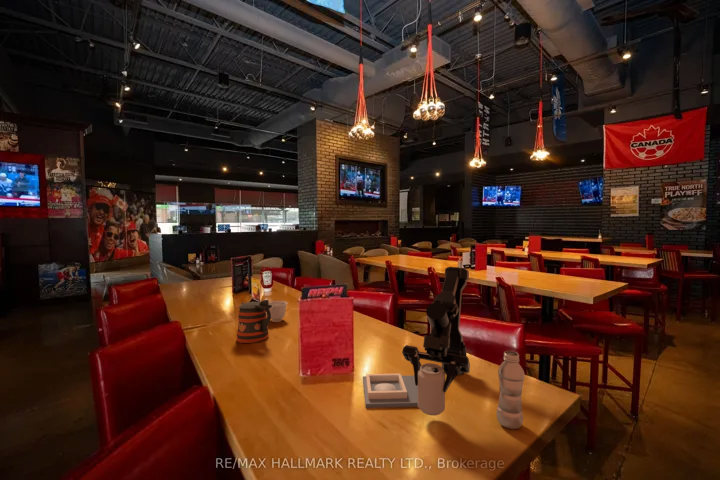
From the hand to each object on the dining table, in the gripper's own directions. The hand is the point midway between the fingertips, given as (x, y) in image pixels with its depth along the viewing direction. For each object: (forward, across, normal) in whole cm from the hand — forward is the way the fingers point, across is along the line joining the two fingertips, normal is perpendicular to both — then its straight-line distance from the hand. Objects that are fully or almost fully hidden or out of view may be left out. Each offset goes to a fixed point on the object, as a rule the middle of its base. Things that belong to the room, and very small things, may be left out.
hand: (430, 388), depth 87 cm
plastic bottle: (+1, +20, +13) cm, 24 cm away
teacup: (-28, -101, +43) cm, 113 cm away
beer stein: (-11, -90, +25) cm, 94 cm away
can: (+4, 0, +6) cm, 7 cm away
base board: (0, -14, +14) cm, 20 cm away
